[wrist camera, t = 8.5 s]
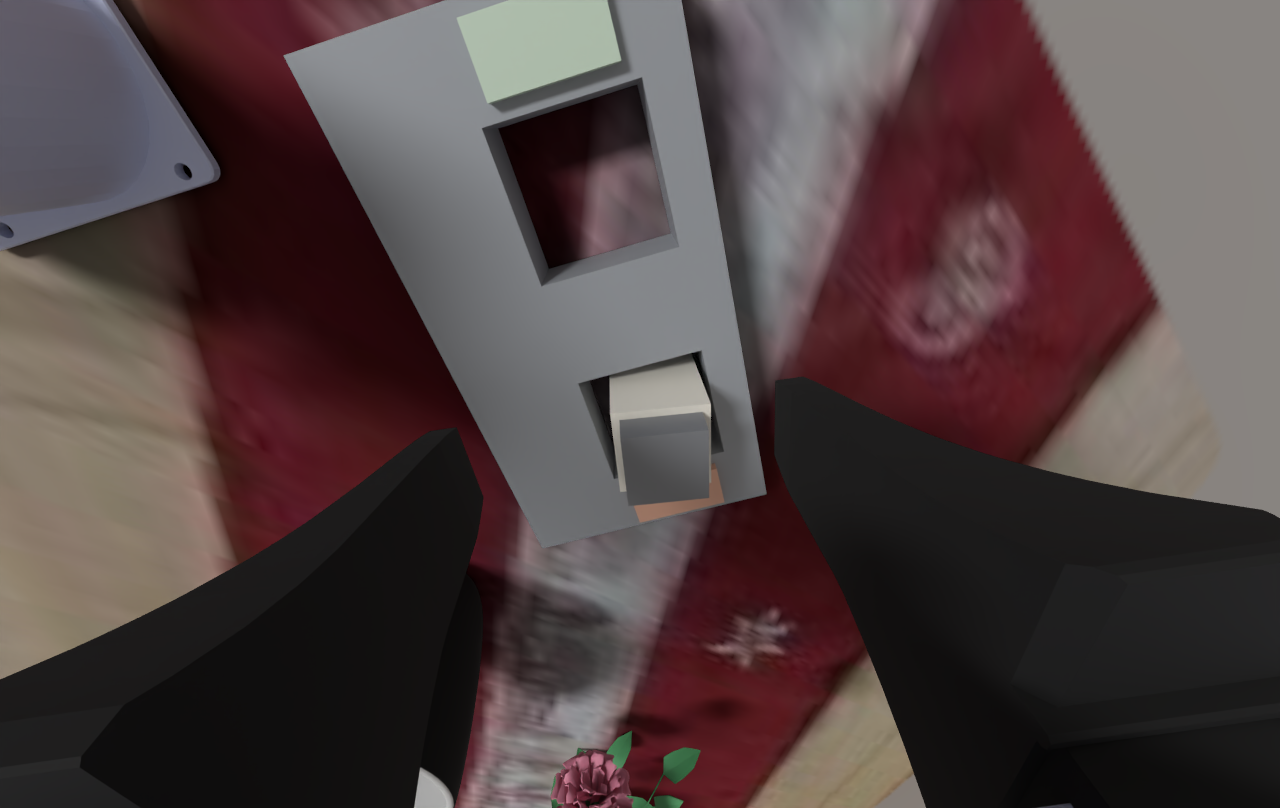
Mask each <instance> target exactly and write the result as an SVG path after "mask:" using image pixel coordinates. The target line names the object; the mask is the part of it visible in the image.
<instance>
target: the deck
mask: <svg viewBox="0 0 1280 808" xmlns="http://www.w3.org/2000/svg"><path fill="white" fill-rule="evenodd" d="M284 57H285V59H286V61H287V63H288V65H289V67H290V69H291V71H292V73H293V75H294V77H295V78H296V80H297V82H298V84H299V86H300V88H301V90H302V92H303V94H304V96H305V97H306V99H307V101H308V103H309V105H310V107H311V109H312V111H313V113H314V115H315V116H316V118H317V120H318V122H319V124H320V126H321V128H322V130H323V132H324V134H325V136H326V137H327V139H328V141H329V143H330V145H331V147H332V149H333V151H334V153H335V155H336V156H337V158H338V160H339V162H340V164H341V166H342V168H343V170H344V172H345V174H346V176H347V177H348V179H349V181H350V183H351V185H352V187H353V189H354V191H355V193H356V195H357V196H358V198H359V200H360V202H361V204H362V206H363V208H364V210H365V212H366V214H367V215H368V217H369V219H370V221H371V223H372V225H373V227H374V229H375V231H376V233H377V235H378V236H379V238H380V240H381V242H382V244H383V246H384V248H385V250H386V252H387V254H388V255H389V257H390V259H391V261H392V263H393V265H394V267H395V269H396V271H397V273H398V274H399V276H400V278H401V280H402V282H403V284H404V286H405V288H406V290H407V292H408V294H409V295H410V297H411V299H412V301H413V303H414V305H415V307H416V309H417V311H418V313H419V314H420V316H421V318H422V320H423V322H424V324H425V326H426V328H427V330H428V332H429V334H430V335H431V337H432V339H433V341H434V343H435V345H436V347H437V349H438V351H439V353H440V354H441V356H442V358H443V360H444V362H445V364H446V366H447V368H448V370H449V372H450V373H451V375H452V377H453V379H454V381H455V383H456V385H457V387H458V389H459V391H460V393H461V394H462V396H463V398H464V400H465V402H466V404H467V406H468V408H469V410H470V412H471V413H472V415H473V417H474V419H475V421H476V423H477V425H478V427H479V429H480V431H481V432H482V434H483V436H484V438H485V440H486V442H487V444H488V446H489V448H490V450H491V452H492V453H493V455H494V457H495V459H496V461H497V463H498V465H499V467H500V469H501V471H502V472H503V474H504V476H505V478H506V480H507V482H508V484H509V486H510V488H511V490H512V492H513V493H514V495H515V497H516V499H517V501H518V503H519V505H520V507H521V509H522V511H523V512H524V514H525V516H526V518H527V520H528V522H529V524H530V526H531V528H532V530H533V531H534V533H535V535H536V537H537V539H538V541H539V543H540V545H541V547H542V548H547V547H551V546H555V545H559V544H563V543H567V542H571V541H575V540H580V539H584V538H588V537H592V536H596V535H600V534H604V533H609V532H613V531H617V530H621V529H625V528H629V527H633V526H637V525H642V524H646V523H650V522H654V521H658V520H662V519H666V518H670V517H675V516H679V515H683V514H687V513H691V512H695V511H699V510H704V509H708V508H712V507H716V506H720V505H724V504H728V503H732V502H737V501H741V500H745V499H749V498H753V497H757V496H761V495H766V494H767V493H766V487H765V482H764V476H763V470H762V464H761V458H760V453H759V447H758V441H757V435H756V429H755V424H754V418H753V412H752V406H751V400H750V395H749V389H748V383H747V377H746V371H745V366H744V360H743V354H742V348H741V342H740V337H739V331H738V325H737V319H736V313H735V308H734V302H733V296H732V290H731V284H730V279H729V273H728V267H727V261H726V255H725V250H724V244H723V238H722V232H721V226H720V221H719V215H718V209H717V203H716V197H715V192H714V186H713V180H712V174H711V169H710V163H709V157H708V151H707V145H706V140H705V134H704V128H703V122H702V116H701V111H700V105H699V99H698V93H697V87H696V82H695V76H694V70H693V64H692V58H691V53H690V47H689V41H688V35H687V29H686V24H685V18H684V12H683V6H682V0H445V1H442V2H439V3H436V4H433V5H430V6H427V7H424V8H421V9H419V10H416V11H413V12H410V13H407V14H404V15H401V16H398V17H395V18H392V19H389V20H386V21H383V22H381V23H378V24H375V25H372V26H369V27H366V28H363V29H360V30H357V31H354V32H351V33H348V34H345V35H342V36H340V37H337V38H334V39H331V40H328V41H325V42H322V43H319V44H316V45H313V46H310V47H307V48H304V49H302V50H299V51H296V52H293V53H290V54H287V55H284ZM634 85H638V89H639V94H640V98H641V103H642V107H643V112H644V116H645V121H646V125H647V129H648V134H649V138H650V143H651V147H652V152H653V156H654V161H655V165H656V170H657V174H658V178H659V183H660V187H661V192H662V196H663V201H664V205H665V210H666V214H667V219H668V223H669V227H670V232H671V234H668V235H664V236H661V237H657V238H654V239H650V240H647V241H643V242H640V243H637V244H633V245H630V246H626V247H623V248H619V249H616V250H612V251H609V252H605V253H602V254H599V255H595V256H592V257H588V258H585V259H581V260H578V261H574V262H571V263H568V264H564V265H561V266H557V267H554V268H550V269H549V268H548V265H547V262H546V259H545V257H544V254H543V251H542V248H541V246H540V243H539V240H538V237H537V235H536V232H535V229H534V226H533V223H532V221H531V218H530V215H529V212H528V210H527V207H526V204H525V201H524V199H523V196H522V193H521V190H520V188H519V185H518V182H517V179H516V177H515V174H514V171H513V168H512V166H511V163H510V160H509V157H508V155H507V152H506V149H505V146H504V143H503V141H502V138H501V135H500V132H499V130H498V128H502V127H505V126H508V125H511V124H514V123H517V122H521V121H524V120H527V119H530V118H533V117H536V116H539V115H543V114H546V113H549V112H552V111H555V110H558V109H562V108H565V107H568V106H571V105H574V104H577V103H581V102H584V101H587V100H590V99H593V98H596V97H599V96H603V95H606V94H609V93H612V92H615V91H618V90H622V89H625V88H628V87H631V86H634ZM693 352H698V357H699V361H700V366H701V370H702V374H703V379H704V383H705V388H706V392H707V395H708V398H709V400H710V403H711V415H712V419H713V422H711V483H709V498H704V499H694V500H685V501H675V502H665V503H656V504H646V505H636V506H628V499H627V491H625V492H620V486H619V479H618V471H617V463H616V456H615V448H614V447H613V444H612V441H611V439H610V436H609V433H608V430H607V428H606V425H605V422H604V419H603V417H602V414H601V411H600V408H599V406H598V403H597V400H596V397H595V395H594V392H593V389H592V386H591V384H590V381H589V380H593V379H596V378H600V377H604V376H608V375H611V374H615V373H619V372H622V371H626V370H630V369H634V368H637V367H641V366H645V365H648V364H652V363H656V362H660V361H663V360H667V359H671V358H674V357H678V356H682V355H686V354H689V353H693Z"/></svg>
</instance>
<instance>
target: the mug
mask: <svg viewBox="0 0 1280 808" xmlns="http://www.w3.org/2000/svg"><path fill="white" fill-rule="evenodd" d="M482 637H483V612H482V604H481V599H480V595H479V592H478V589H477V587H476V585H475V583H474V582H473V580H472V579H471V578H470V577H469V576H468V575H467V574H465V577H464V581H463V584H462V587H461V590H460V593H459V596H458V599H457V602H456V605H455V609H454V612H453V615H452V618H451V621H450V624H449V627H448V631H447V634H446V638H445V642H444V645H443V649H442V653H441V658H440V663H439V668H438V673H437V677H436V682H435V687H434V692H433V697H432V702H431V708H430V713H429V719H428V724H427V730H426V736H425V741H424V747H423V752H422V759H421V766H420V772H419V779H418V786H417V792H416V799H415V805H414V808H454V807H455V804H456V800H457V796H458V792H459V788H460V784H461V780H462V775H463V770H464V765H465V760H466V755H467V750H468V744H469V739H470V733H471V727H472V721H473V715H474V708H475V701H476V694H477V687H478V679H479V671H480V661H481V651H482Z"/></svg>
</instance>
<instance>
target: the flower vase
mask: <svg viewBox="0 0 1280 808" xmlns="http://www.w3.org/2000/svg"><path fill="white" fill-rule="evenodd" d="M631 737H632V731H630V732H628V733H626V734H624V735H622V736H620V737H618V738H617V740H616V741H615V742H614V743H613V744H612V746H611V747H610V748H609V750H608V751H607V753H604V752H601V751H598V750H593V751H592V750H588V751H587V752H585V751H583V750H581V749H579V748H578V750H577V755H576V756H574V757H573V758H571V759H569V760H567V761H566V762H564V763H563V765H564V766H565V768H566V770H565V769H562V770H561V773H557V774H556V776H555V778H554V783H553V787H552V792H551V801H552V808H680V806H681V804H682V803H683V801H682V800H680V799H677V798H675V797H673V796H670V795H665V796H656V797H654V801H655V806H654V807H653V806H652V805H650V804H649V802H650V800H651V798H652V796H653V794H654V792H655V790H656V789H657V787H658V785H659V783H660V781H661V779H662V777H663V775H665V776H666V777H667V778H669V779H670V780H671V781H672V782H673V783H675V784H676V783H677V782H679V781H680V780H682V779H683V778H684V777H685V776H686V775H687V774H688V773H689V772H690V771H691V770H693V769H694V766H695V764H696V761H697V759H698V756H699V753H700V751H701V750H697V749H691V748H685V747H684V748H681V749H679V750H676V751H674V752H671V753H670V754H668V755H666V756H665V757H664V770H663V774H662V776H661V778H660V780H659V782H658V784H657V786H656V788H655V790H654V791H653V793H652V795H651V797H650V799H649V801H648V802H647V801H645V800H644V799H643V798H639V797H634V796H627V795H631V791H630V789H629V785H628V782H629V778H630V776H629V773H628V771H627V770H625V769H623V768H622V767H623V765H624V763H625V761H626V759H627V756H628V754H629V752H630V749H631ZM615 769H617V770H616V771H615V772H614V770H615ZM613 772H614V773H613ZM612 774H613V775H612Z"/></svg>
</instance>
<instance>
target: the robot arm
mask: <svg viewBox="0 0 1280 808" xmlns="http://www.w3.org/2000/svg"><path fill="white" fill-rule="evenodd" d="M184 164H185V165H187V167H188V168H189V169H190V170H191V172H192V178H190V177H188V176H187V175H186V174H185V172H184V169H183V166H184ZM219 177H220V168H219V166H218V163H217V162H216V160H215V158H214V157H213V155H212V154H211V152H210V151H209V149H208V148H207V146H206V144H205V143H204V141H203V140H202V138H201V137H200V135H199V134H198V132H197V130H196V129H195V127H194V126H193V124H192V123H191V121H190V120H189V118H188V116H187V115H186V113H185V112H184V110H183V109H182V107H181V106H180V104H179V102H178V101H177V99H176V98H175V96H174V95H173V93H172V92H171V90H170V88H169V87H168V85H167V84H166V82H165V81H164V79H163V77H162V76H161V74H160V73H159V71H158V70H157V68H156V67H155V65H154V63H153V62H152V60H151V59H150V57H149V56H148V54H147V53H146V51H145V49H144V48H143V46H142V45H141V43H140V42H139V40H138V39H137V37H136V35H135V34H134V32H133V31H132V29H131V28H130V26H129V25H128V23H127V21H126V20H125V18H124V17H123V15H122V14H121V12H120V11H119V9H118V7H117V6H116V4H115V3H114V1H113V0H0V251H2V250H6V249H9V248H12V247H15V246H18V245H21V244H25V243H28V242H31V241H34V240H37V239H40V238H43V237H46V236H49V235H52V234H56V233H59V232H62V231H65V230H68V229H71V228H74V227H77V226H80V225H83V224H86V223H90V222H93V221H96V220H99V219H102V218H105V217H108V216H111V215H114V214H117V213H120V212H124V211H127V210H130V209H133V208H136V207H139V206H142V205H145V204H148V203H151V202H155V201H158V200H161V199H164V198H167V197H170V196H173V195H176V194H179V193H182V192H185V191H189V190H192V189H195V188H198V187H201V186H204V185H207V184H210V183H213V182H215V181H217V180H218V179H219ZM7 225H8V226H9V227H10V228H11V229H12V231H13V232H14V233H13V232H11V231H10V230H9V228H8V226H7ZM774 455H775V458H776V461H777V463H778V466H779V469H780V472H781V474H782V477H783V479H784V482H785V484H786V487H787V489H788V492H789V494H790V496H791V497H792V499H793V501H794V503H795V505H796V507H797V508H798V510H799V512H800V514H801V516H802V518H803V519H804V521H805V523H806V525H807V527H808V528H809V530H810V532H811V534H812V536H813V537H814V539H815V541H816V543H817V545H818V546H819V548H820V550H821V552H822V554H823V555H824V557H825V559H826V561H827V563H828V564H829V566H830V568H831V570H832V572H833V573H834V575H835V577H836V579H837V581H838V583H839V585H840V587H841V589H842V591H843V594H844V596H845V598H846V601H847V603H848V605H849V608H850V610H851V612H852V615H853V617H854V619H855V622H856V624H857V626H858V629H859V631H860V633H861V636H862V638H863V641H864V643H865V646H866V648H867V651H868V653H869V656H870V658H871V661H872V663H873V666H874V668H875V671H876V673H877V676H878V678H879V680H880V683H881V685H882V688H883V691H884V693H885V696H886V699H887V701H888V704H889V707H890V709H891V712H892V715H893V717H894V720H895V722H896V725H897V728H898V730H899V733H900V736H901V738H902V741H903V744H904V746H905V749H906V752H907V755H908V758H909V760H910V763H911V766H912V769H913V772H914V775H915V777H916V780H917V783H918V786H919V788H920V791H921V794H922V797H923V800H924V803H925V806H926V808H1280V518H1278V517H1277V516H1275V515H1273V514H1271V513H1269V512H1266V511H1264V510H1259V509H1253V508H1246V507H1240V506H1233V505H1227V504H1220V503H1214V502H1207V501H1201V500H1194V499H1187V498H1181V497H1174V496H1168V495H1161V494H1155V493H1149V492H1144V491H1138V490H1133V489H1128V488H1123V487H1118V486H1113V485H1108V484H1103V483H1098V482H1093V481H1088V480H1084V479H1080V478H1075V477H1071V476H1066V475H1062V474H1058V473H1054V472H1049V471H1046V470H1042V469H1038V468H1034V467H1031V466H1027V465H1023V464H1019V463H1015V462H1012V461H1008V460H1004V459H1001V458H998V457H994V456H991V455H988V454H984V453H981V452H978V451H975V450H972V449H969V448H966V447H963V446H960V445H957V444H954V443H952V442H949V441H946V440H943V439H940V438H938V437H935V436H932V435H930V434H927V433H924V432H922V431H920V430H917V429H915V428H912V427H910V426H908V425H905V424H903V423H901V422H898V421H896V420H894V419H891V418H889V417H887V416H885V415H882V414H880V413H878V412H876V411H874V410H872V409H870V408H868V407H866V406H863V405H861V404H859V403H857V402H855V401H853V400H851V399H849V398H847V397H845V396H843V395H841V394H839V393H837V392H835V391H833V390H831V389H829V388H827V387H825V386H823V385H821V384H819V383H817V382H815V381H812V380H810V379H807V378H805V377H797V378H790V379H784V380H777V381H775V448H774ZM482 504H483V495H482V492H481V489H480V487H479V484H478V482H477V479H476V476H475V474H474V471H473V469H472V466H471V464H470V461H469V458H468V456H467V453H466V451H465V448H464V445H463V443H462V440H461V438H460V435H459V433H458V430H457V427H456V428H449V429H442V430H435V431H430V432H428V433H426V434H425V435H423V436H421V437H420V438H418V439H417V440H416V441H414V442H413V443H412V444H410V445H409V446H408V447H406V448H405V449H404V450H402V451H401V452H400V453H398V454H397V455H396V456H395V457H393V458H392V459H391V460H389V461H388V462H387V463H386V464H384V465H383V466H382V467H380V468H379V469H378V470H377V471H375V472H374V473H373V474H371V475H370V476H369V477H368V478H366V479H365V480H364V481H362V482H361V483H360V484H359V485H357V486H356V487H355V488H353V489H352V490H351V491H349V492H348V493H346V494H345V495H344V496H342V497H341V498H340V499H338V500H337V501H335V502H334V503H333V504H331V505H330V506H329V507H327V508H326V509H325V510H323V511H322V512H320V513H319V514H318V515H316V516H315V517H314V518H312V519H311V520H309V521H308V522H306V523H305V524H303V525H302V526H300V527H299V528H297V529H296V530H294V531H293V532H291V533H290V534H288V535H287V536H285V537H284V538H282V539H280V540H279V541H277V542H276V543H274V544H272V545H271V546H269V547H268V548H266V549H264V550H263V551H261V552H259V553H258V554H256V555H255V556H253V557H251V558H250V559H248V560H246V561H244V562H243V563H241V564H239V565H237V566H235V567H234V568H232V569H230V570H228V571H226V572H225V573H223V574H221V575H219V576H217V577H216V578H214V579H212V580H210V581H208V582H206V583H205V584H203V585H201V586H199V587H197V588H196V589H194V590H192V591H190V592H188V593H187V594H185V595H183V596H181V597H179V598H177V599H175V600H173V601H171V602H169V603H167V604H165V605H163V606H161V607H159V608H157V609H155V610H153V611H151V612H149V613H147V614H145V615H143V616H141V617H139V618H137V619H135V620H133V621H131V622H129V623H127V624H124V625H122V626H120V627H118V628H116V629H114V630H112V631H110V632H108V633H106V634H103V635H101V636H99V637H97V638H95V639H93V640H90V641H88V642H86V643H84V644H82V645H79V646H77V647H75V648H73V649H71V650H68V651H66V652H64V653H61V654H59V655H57V656H54V657H52V658H50V659H47V660H45V661H43V662H40V663H38V664H36V665H33V666H31V667H28V668H26V669H24V670H21V671H19V672H17V673H14V674H12V675H10V676H7V677H5V678H3V679H0V808H414V805H415V799H416V792H417V786H418V779H419V772H420V766H421V759H422V752H423V747H424V741H425V736H426V730H427V724H428V719H429V713H430V708H431V702H432V697H433V692H434V687H435V682H436V677H437V673H438V668H439V663H440V658H441V653H442V649H443V645H444V642H445V638H446V634H447V631H448V627H449V624H450V621H451V618H452V615H453V612H454V609H455V605H456V602H457V599H458V596H459V593H460V590H461V587H462V584H463V581H464V577H465V574H466V571H467V568H468V565H469V562H470V558H471V555H472V552H473V549H474V546H475V542H476V539H477V535H478V529H479V524H480V518H481V511H482Z"/></svg>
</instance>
